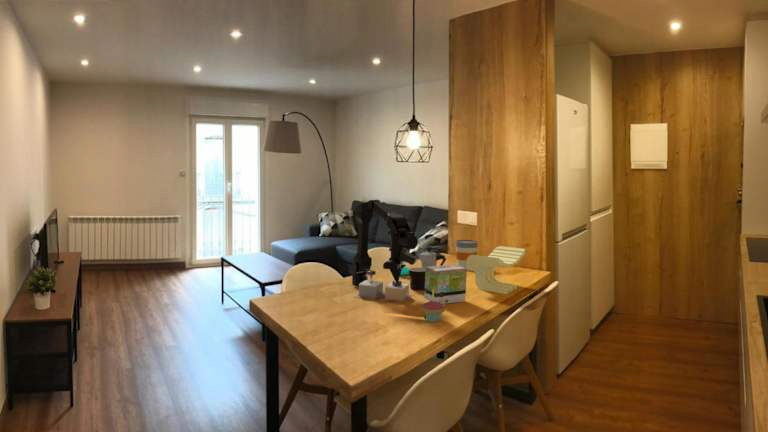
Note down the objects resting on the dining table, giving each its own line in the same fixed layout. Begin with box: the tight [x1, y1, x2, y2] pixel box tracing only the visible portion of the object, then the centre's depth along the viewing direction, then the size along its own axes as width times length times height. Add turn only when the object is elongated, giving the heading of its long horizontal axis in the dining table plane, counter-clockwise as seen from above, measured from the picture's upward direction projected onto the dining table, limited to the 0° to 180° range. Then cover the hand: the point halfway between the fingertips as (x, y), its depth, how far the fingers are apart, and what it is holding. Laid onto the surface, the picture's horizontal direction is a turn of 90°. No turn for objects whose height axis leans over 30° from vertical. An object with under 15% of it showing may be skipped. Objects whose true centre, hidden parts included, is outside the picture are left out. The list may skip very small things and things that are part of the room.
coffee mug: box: [408, 266, 426, 291], centre depth 225 cm, size 12×9×10 cm
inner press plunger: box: [367, 269, 377, 283], centre depth 211 cm, size 6×6×7 cm
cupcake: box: [421, 290, 446, 323], centre depth 181 cm, size 9×8×12 cm
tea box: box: [423, 263, 468, 305], centre depth 207 cm, size 15×10×15 cm, turn 117°
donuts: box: [400, 261, 410, 276], centre depth 258 cm, size 10×10×10 cm
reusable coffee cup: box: [455, 239, 478, 268], centre depth 275 cm, size 13×13×15 cm
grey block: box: [358, 279, 384, 298], centre depth 213 cm, size 8×10×6 cm
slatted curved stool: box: [466, 245, 526, 295], centre depth 229 cm, size 30×16×18 cm, turn 142°
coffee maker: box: [417, 246, 447, 269], centre depth 238 cm, size 15×9×18 cm, turn 68°
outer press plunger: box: [392, 280, 403, 286], centre depth 208 cm, size 6×6×7 cm
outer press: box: [384, 281, 410, 301], centre depth 209 cm, size 8×10×6 cm
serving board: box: [353, 291, 414, 304], centre depth 210 cm, size 23×13×1 cm, turn 69°
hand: (396, 281), depth 207 cm, fingers closed, pressing on outer press plunger
